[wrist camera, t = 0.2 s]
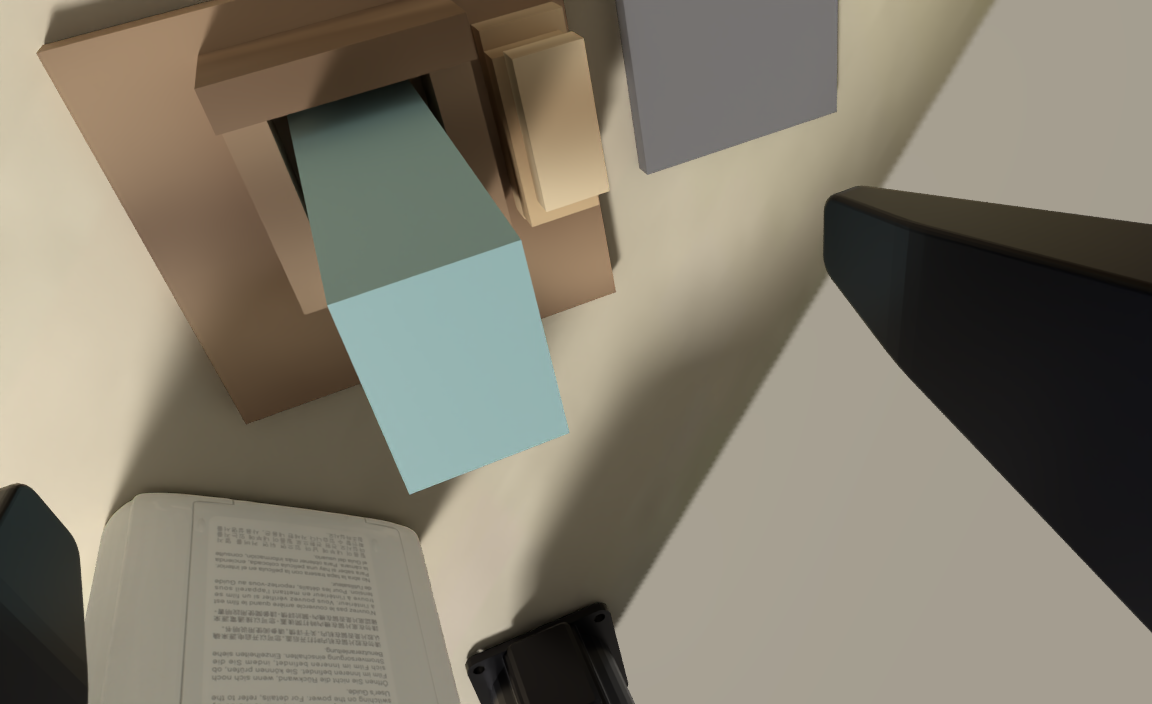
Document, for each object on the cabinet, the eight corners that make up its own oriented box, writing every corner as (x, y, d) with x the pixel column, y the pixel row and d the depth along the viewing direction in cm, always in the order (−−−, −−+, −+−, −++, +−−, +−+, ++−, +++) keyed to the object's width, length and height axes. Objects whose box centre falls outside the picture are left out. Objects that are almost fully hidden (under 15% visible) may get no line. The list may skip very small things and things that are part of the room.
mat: (825, 106, 26) (836, 111, 26) (639, 168, 25) (647, 174, 25) (825, -185, 22) (839, -184, 21) (597, -125, 21) (606, -124, 20)
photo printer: (83, 577, 26) (1, 1028, 16) (114, 473, 25) (44, 901, 15) (390, 599, 31) (464, 952, 22) (431, 514, 30) (531, 852, 20)
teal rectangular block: (445, 211, 23) (569, 432, 15) (340, 245, 23) (409, 494, 14) (402, 70, 21) (521, 240, 12) (284, 104, 20) (327, 305, 12)
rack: (606, 280, 27) (654, 338, 24) (245, 408, 25) (248, 489, 22) (538, -86, 21) (591, -70, 18) (42, 45, 19) (8, 89, 16)
